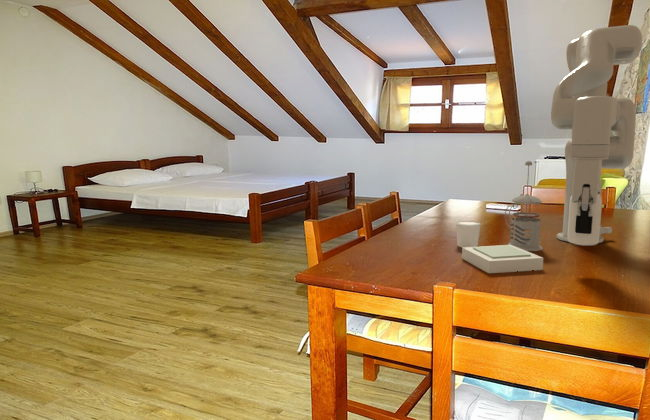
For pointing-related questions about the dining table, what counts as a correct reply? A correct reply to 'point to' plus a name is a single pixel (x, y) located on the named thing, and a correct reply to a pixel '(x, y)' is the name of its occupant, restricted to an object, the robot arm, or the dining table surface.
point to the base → (502, 258)
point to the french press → (525, 223)
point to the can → (596, 213)
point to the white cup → (467, 233)
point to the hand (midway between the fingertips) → (583, 229)
